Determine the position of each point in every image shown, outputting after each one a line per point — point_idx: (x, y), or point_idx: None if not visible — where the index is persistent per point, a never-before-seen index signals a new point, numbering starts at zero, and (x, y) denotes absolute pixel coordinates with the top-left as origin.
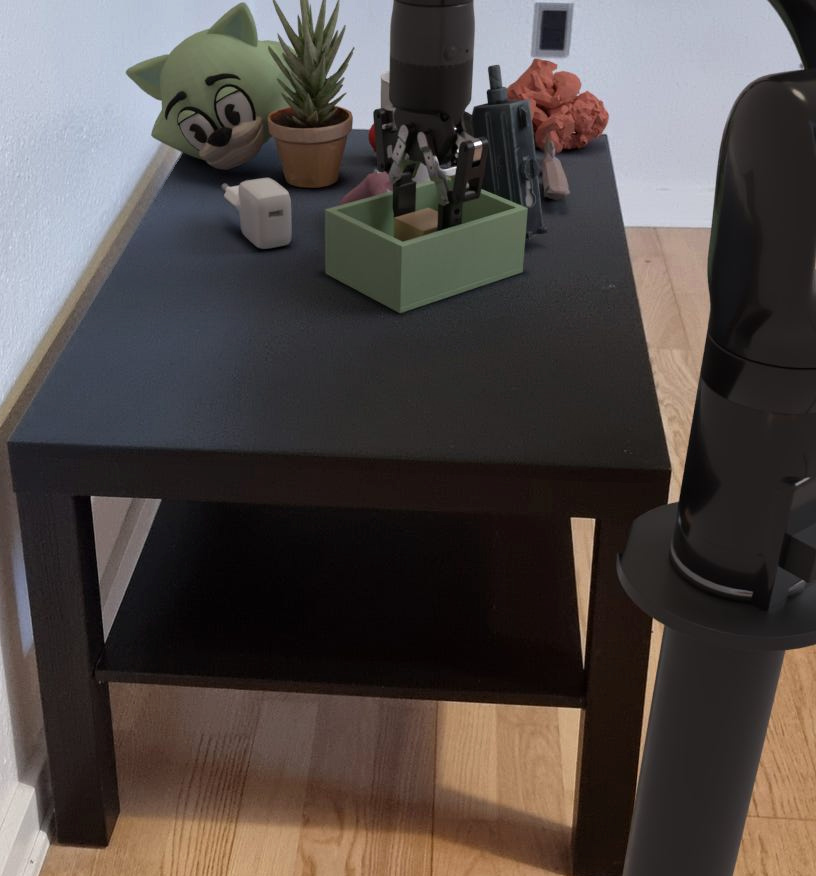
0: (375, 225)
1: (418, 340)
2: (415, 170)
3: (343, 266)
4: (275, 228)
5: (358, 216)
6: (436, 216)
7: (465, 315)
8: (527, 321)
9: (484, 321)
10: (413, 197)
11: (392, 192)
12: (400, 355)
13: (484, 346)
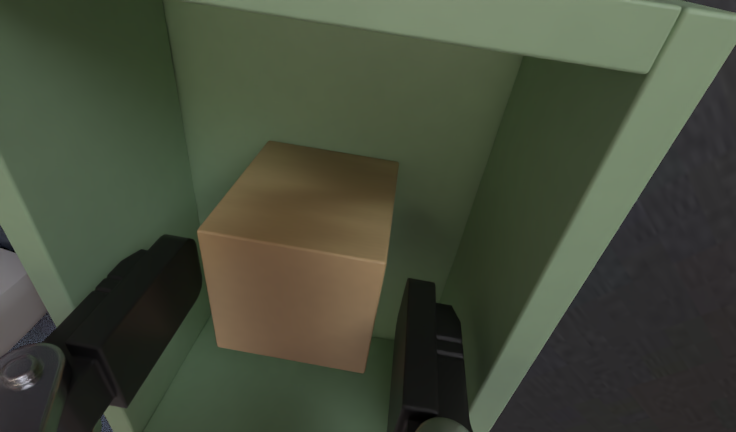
0: None
1: (528, 391)
2: (56, 417)
3: None
4: (18, 321)
5: None
6: (295, 279)
7: None
8: (718, 249)
9: (609, 297)
10: (147, 299)
11: (52, 296)
12: (531, 425)
13: (656, 363)
